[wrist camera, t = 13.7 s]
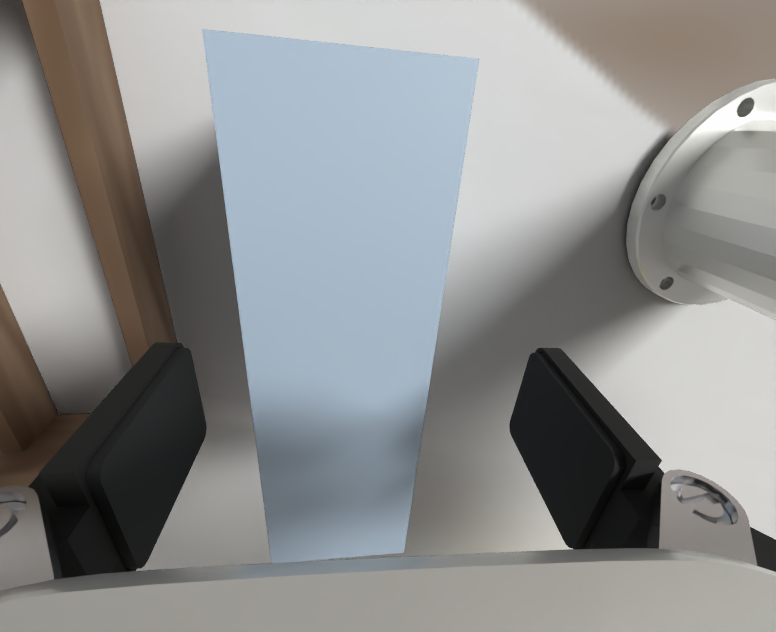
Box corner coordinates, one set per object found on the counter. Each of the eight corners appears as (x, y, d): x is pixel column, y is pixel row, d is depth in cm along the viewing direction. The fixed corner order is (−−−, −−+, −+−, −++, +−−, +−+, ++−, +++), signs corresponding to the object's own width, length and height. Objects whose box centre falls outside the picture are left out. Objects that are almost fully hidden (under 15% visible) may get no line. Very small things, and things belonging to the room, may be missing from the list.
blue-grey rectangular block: (394, 95, 18) (479, 59, 7) (376, 370, 25) (404, 552, 14) (286, 86, 17) (202, 28, 6) (300, 371, 24) (271, 563, 14)
